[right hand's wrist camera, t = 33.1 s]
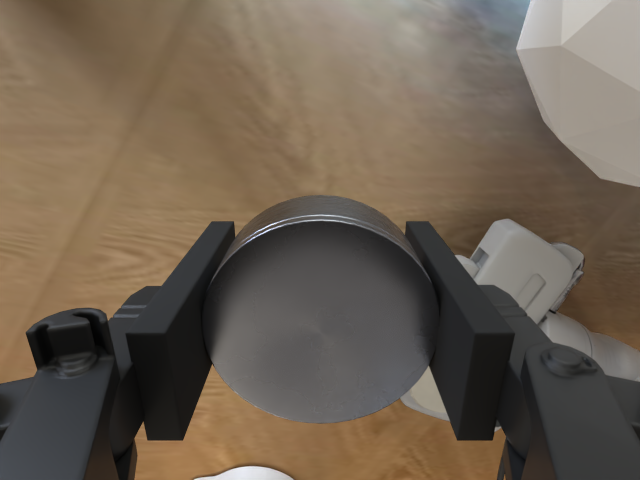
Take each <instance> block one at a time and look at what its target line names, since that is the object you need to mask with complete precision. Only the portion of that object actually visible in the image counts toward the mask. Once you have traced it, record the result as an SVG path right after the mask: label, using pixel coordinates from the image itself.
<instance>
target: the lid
mask: <svg viewBox="0 0 640 480" xmlns="http://www.w3.org/2000/svg"><path fill="white" fill-rule="evenodd" d="M201 320H202V333H203V339H204V343H205V347H206V350H207V353H208V355H209V358H210V360H211V362H212V364H213V366H214V367H215V369H216V371H217V372H218V374H219V375H220V376H221V378H222V379H223V380H224V382H225V383H226V384H227V385H228V386H229V387H230V388H231V389H232V390H233V391H234V392H235V393H237V394H238V395H239V396H240V397H242V398H243V399H244V400H246V401H247V402H249V403H250V404H252V405H253V406H255V407H257V408H259V409H261V410H263V411H265V412H267V413H270V414H273V415H275V416H278V417H281V418H285V419H289V420H293V421H299V422H306V423H336V422H343V421H349V420H353V419H357V418H361V417H364V416H367V415H369V414H372V413H375V412H377V411H379V410H381V409H383V408H385V407H387V406H389V405H390V404H392V403H393V402H395V401H396V400H398V399H399V398H401V397H402V396H403V395H404V394H405V393H407V392H408V391H409V390H410V389H411V388H412V387H413V386H414V385H415V384H416V383H417V382H418V380H419V379H420V378H421V376H422V375H423V374H424V372H425V371H426V370H427V368H428V366H429V364H430V362H431V360H432V358H433V356H434V353H435V350H436V344H437V336H438V329H439V321H440V307H439V302H438V298H437V295H436V291H435V289H434V287H433V284H432V282H431V280H430V278H429V276H428V274H427V273H426V271H425V269H424V267H423V265H422V263H421V262H420V260H419V258H418V256H417V255H416V253H415V251H414V249H413V247H412V246H411V244H410V242H409V241H408V239H407V238H406V236H405V235H404V234H403V232H402V231H401V230H400V229H399V228H398V227H397V225H395V224H394V223H393V222H392V221H391V220H390V219H389V218H387V217H386V216H385V215H383V214H382V213H380V212H379V211H377V210H376V209H374V208H372V207H370V206H368V205H366V204H363V203H361V202H358V201H355V200H352V199H348V198H343V197H338V196H327V195H315V196H304V197H299V198H294V199H290V200H287V201H284V202H281V203H278V204H276V205H274V206H272V207H270V208H268V209H266V210H265V211H263V212H262V213H260V214H259V215H257V216H256V217H254V218H253V219H252V220H251V221H250V222H249V223H248V224H247V225H245V227H244V228H243V229H242V230H241V231H240V232H239V234H238V235H237V236H236V238H235V239H234V241H233V242H232V244H231V246H230V247H229V249H228V251H227V253H226V255H225V256H224V258H223V260H222V262H221V264H220V266H219V267H218V269H217V271H216V273H215V275H214V276H213V278H212V280H211V283H210V285H209V287H208V290H207V292H206V295H205V299H204V303H203V309H202V319H201Z"/></svg>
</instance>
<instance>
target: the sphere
mask: <svg viewBox="0 0 640 480" xmlns="http://www.w3.org/2000/svg"><path fill="white" fill-rule="evenodd" d="M516 51H517V54H518V56H519V59H520V62H521V64H522V67H523V69H524V72H525V75H526V77H527V80H528V82H529V85H530V88H531V90H532V93H533V95H534V98H535V101H536V103H537V106H538V108H539V111H540V114H541V116H542V119H543V121H544V122H545V123H546V125H547V126H548V127H549V128H550V129H551V131H552V132H553V133H554V134H555V135H556V136H557V138H558V139H559V140H560V141H561V142H562V143H563V144H564V145H565V146H566V147H567V148H569V149H570V150H571V151H572V152H573V153H574V154H575V155H576V156H577V157H578V158H579V159H580V160H581V161H582V162H583V163H584V164H585V165H586V166H588V167H589V168H590V169H591V170H592V171H593V172H594V173H595V174H596V175H597V176H598V177H599V178H600V179H604V180H609V181H614V182H618V183H623V184H627V185H632V186H636V187H640V0H531V1H530V5H529V8H528V11H527V15H526V18H525V21H524V25H523V28H522V31H521V35H520V38H519V41H518V45H517V48H516Z"/></svg>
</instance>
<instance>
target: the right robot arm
mask: <svg viewBox="0 0 640 480" xmlns="http://www.w3.org/2000/svg"><path fill="white" fill-rule="evenodd" d="M405 236H406V238H407V239H408V241H409V242H410V244H411V246H412V247H413V249H414V251H415V253H416V255H417V256H418V258H419V260H420V262H421V263H422V265H423V267H424V269H425V271H426V273H427V274H428V276H429V278H430V280H431V282H432V284H433V287H434V289H435V291H436V295H437V298H438V302H439V307H440V321H439V329H438V336H437V344H436V350H435V353H434V356H433V358H432V360H431V362H430V364H429V368H430V370H431V373H432V375H433V378H434V381H435V383H436V386H437V389H438V391H439V394H440V396H441V399H442V402H443V404H444V407H445V409H446V412H447V415H448V417H449V420H450V423H451V425H452V428H453V430H454V433H455V436H456V438H457V440H493V436H494V431H495V427H496V422H497V420H498V422H499V424H500V425H501V427H502V429H503V431H504V433H505V435H506V439H505V444H504V448H503V453H502V457H501V462H500V466H499V470H498V476H497V480H503V479H504V474H505V476H506V480H640V382H638V381H633V380H628V379H623V378H618V377H613V376H609V375H605V373H604V371H603V369H602V368H601V367H600V366H599V364H598V363H597V362H596V361H595V360H594V359H592V358H591V357H589V356H588V355H586V354H585V353H583V352H581V351H579V350H577V349H574V348H572V347H570V346H566V345H562V344H558V343H553V342H552V341H551V340H550V339H549V338H548V336H547V335H546V334H545V333H544V332H543V331H542V330H541V329H540V327H539V326H538V325H537V324H536V323H535V322H534V321H533V320H532V319H531V317H530V316H527V313H526V312H525V311H524V310H523V308H522V307H519V304H518V303H517V302H516V301H515V300H514V298H513V297H512V296H511V295H510V294H509V293H507V292H505V291H504V290H502V289H500V288H498V287H497V286H495V285H477V283H476V282H475V281H474V279H473V278H472V277H471V276H470V274H469V273H468V272H467V270H466V269H465V268H464V267H463V265H462V264H461V263H460V261H459V260H458V259H457V258H456V256H455V255H454V254H453V252H452V251H451V250H450V249H449V247H448V246H447V245H446V243H445V242H444V241H443V240H442V238H441V237H440V236H439V234H438V233H437V232H436V231H435V229H434V228H433V227H432V225H431V224H430V223H429V222H428V221H406V232H405ZM234 239H235V229H234V221H212V222H211V223H210V224H209V226H208V227H207V228H206V230H205V231H204V232H203V233H202V235H201V236H200V237H199V239H198V240H197V241H196V242H195V244H194V245H193V246H192V248H191V249H190V250H189V251H188V253H187V254H186V255H185V257H184V258H183V259H182V260H181V262H180V263H179V264H178V266H177V267H176V268H175V269H174V271H173V272H172V273H171V275H170V276H169V277H168V278H167V280H166V281H165V282H164V284H163V285H162V286H146V287H144V288H143V289H141V290H139V291H138V292H136V293H134V294H132V295H131V296H130V297H129V298H128V299H127V300H126V302H125V303H124V304H123V305H122V306H121V308H119V309H118V311H117V312H116V313H115V314H114V315H113V318H110V320H109V321H108V320H107V316H106V314H105V313H104V312H103V311H101V310H99V309H94V308H76V309H71V310H67V311H62V312H59V313H56V314H54V315H51V316H48V317H46V318H44V319H42V320H41V321H39V322H37V323H35V324H34V325H33V326H32V327H31V328H30V329H29V330H28V331H27V332H26V336H27V339H28V342H29V345H30V348H31V351H32V354H33V358H34V361H35V364H36V367H37V372H36V374H35V376H34V377H31V378H27V379H22V380H17V381H12V382H7V383H2V384H0V480H134V478H135V470H136V462H137V449H136V444H135V439H134V438H135V436H136V434H137V432H138V430H139V428H140V426H141V424H142V422H143V421H144V425H145V430H146V435H147V440H183V439H184V436H185V434H186V431H187V428H188V426H189V423H190V421H191V418H192V415H193V413H194V410H195V408H196V405H197V402H198V400H199V397H200V394H201V392H202V389H203V387H204V384H205V381H206V379H207V376H208V374H209V371H210V368H211V366H212V362H211V360H210V358H209V355H208V353H207V350H206V347H205V343H204V339H203V333H202V320H201V319H202V309H203V303H204V299H205V295H206V292H207V290H208V287H209V285H210V283H211V280H212V278H213V276H214V275H215V273H216V271H217V269H218V267H219V266H220V264H221V262H222V260H223V258H224V256H225V255H226V253H227V251H228V249H229V247H230V246H231V244H232V242H233V241H234Z"/></svg>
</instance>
